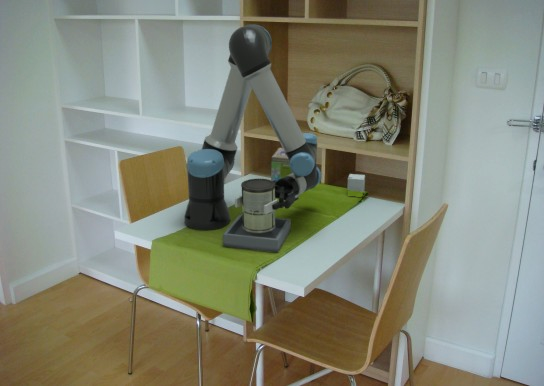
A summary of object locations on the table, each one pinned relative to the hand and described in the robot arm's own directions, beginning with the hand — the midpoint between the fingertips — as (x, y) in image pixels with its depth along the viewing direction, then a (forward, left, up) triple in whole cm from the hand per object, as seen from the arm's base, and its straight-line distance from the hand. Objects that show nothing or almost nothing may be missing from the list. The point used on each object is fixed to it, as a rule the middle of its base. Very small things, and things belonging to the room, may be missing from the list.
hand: (250, 206), depth 169 cm
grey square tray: (+1, +4, -12) cm, 13 cm away
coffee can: (+2, +4, -8) cm, 9 cm away
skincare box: (+26, +53, -12) cm, 60 cm away
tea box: (-1, +53, -12) cm, 54 cm away
